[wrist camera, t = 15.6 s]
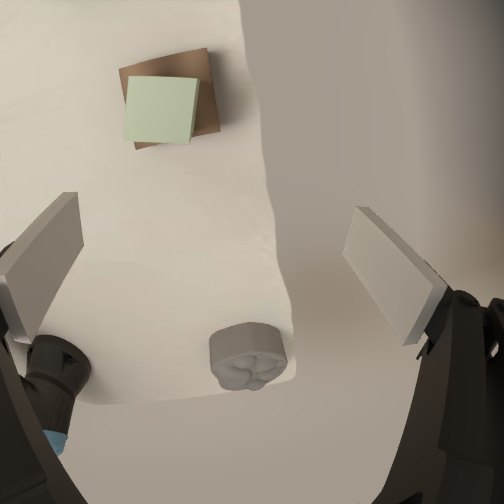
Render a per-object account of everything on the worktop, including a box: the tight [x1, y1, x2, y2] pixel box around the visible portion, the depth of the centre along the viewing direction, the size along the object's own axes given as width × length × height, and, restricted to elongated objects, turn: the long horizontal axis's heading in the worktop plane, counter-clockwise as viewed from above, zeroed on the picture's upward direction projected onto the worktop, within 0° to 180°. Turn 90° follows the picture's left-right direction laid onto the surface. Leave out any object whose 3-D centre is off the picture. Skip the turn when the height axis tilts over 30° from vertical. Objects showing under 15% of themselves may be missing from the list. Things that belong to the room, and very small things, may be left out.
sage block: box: [124, 76, 200, 145], centre depth 27 cm, size 6×6×8 cm
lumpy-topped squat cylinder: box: [209, 322, 287, 391], centre depth 54 cm, size 10×13×9 cm
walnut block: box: [119, 48, 220, 150], centre depth 33 cm, size 10×10×5 cm
